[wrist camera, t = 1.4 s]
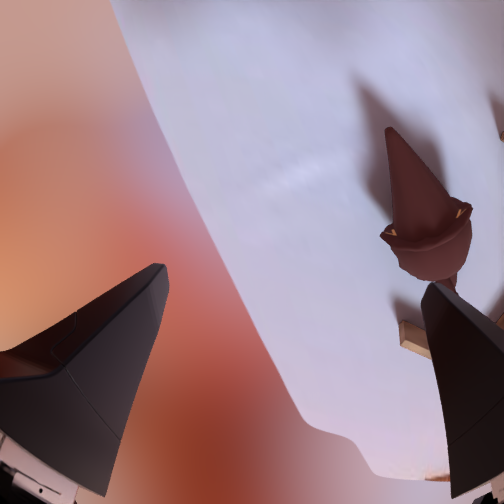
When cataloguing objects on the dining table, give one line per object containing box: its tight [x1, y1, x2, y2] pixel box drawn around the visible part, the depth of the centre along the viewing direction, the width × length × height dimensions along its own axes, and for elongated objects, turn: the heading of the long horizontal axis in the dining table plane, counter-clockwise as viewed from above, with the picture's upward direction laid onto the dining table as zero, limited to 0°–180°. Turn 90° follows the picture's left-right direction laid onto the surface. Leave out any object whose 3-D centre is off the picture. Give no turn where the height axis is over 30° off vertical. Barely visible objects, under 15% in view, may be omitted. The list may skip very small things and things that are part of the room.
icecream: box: [380, 127, 473, 296], centre depth 18 cm, size 7×7×15 cm
